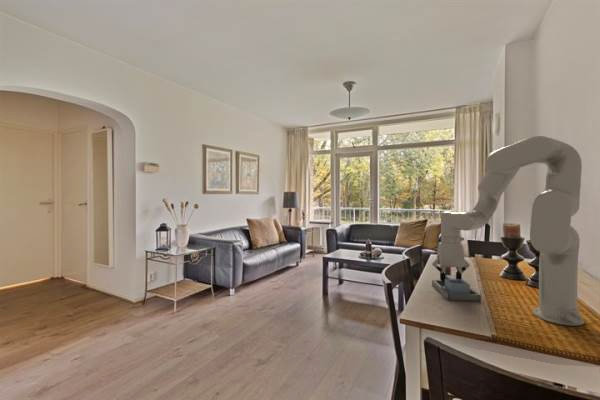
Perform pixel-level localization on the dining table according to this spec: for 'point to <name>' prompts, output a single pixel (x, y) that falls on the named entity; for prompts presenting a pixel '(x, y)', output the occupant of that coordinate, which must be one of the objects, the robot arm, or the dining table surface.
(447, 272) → the post
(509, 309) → the dining table surface
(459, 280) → the light blue chunk
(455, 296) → the tray
